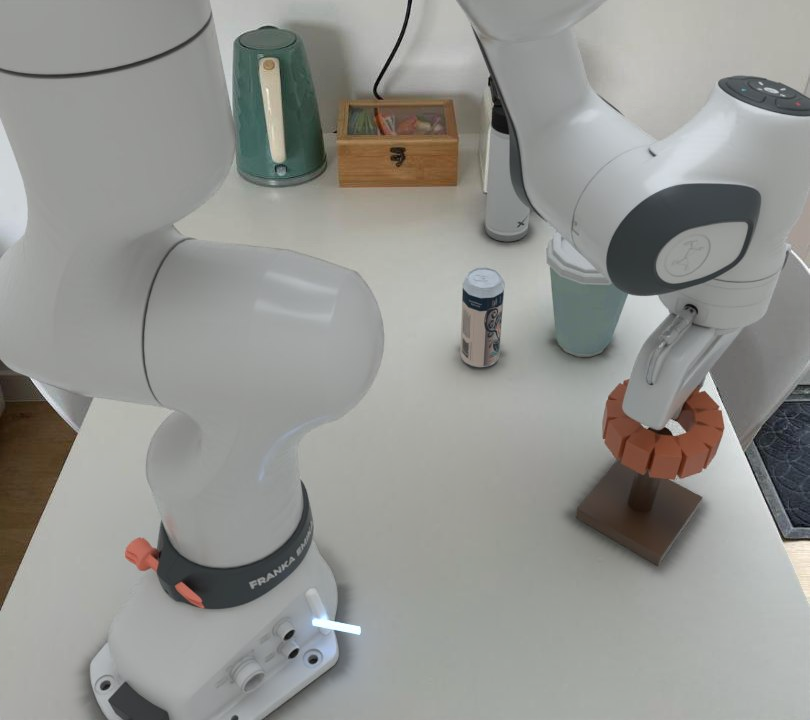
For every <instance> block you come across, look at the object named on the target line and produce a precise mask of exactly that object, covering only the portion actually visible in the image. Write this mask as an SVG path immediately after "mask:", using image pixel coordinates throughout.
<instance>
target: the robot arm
mask: <svg viewBox="0 0 810 720" xmlns="http://www.w3.org/2000/svg"><path fill="white" fill-rule="evenodd" d="M455 1H456V2H457V4H458V6H459V7H460V9H461V10H462V12H463V13H464V15H465V17H466V18H467V21H469V23H470V27H471V29H472V32H473V35H474V37H475V40H476V42H477V45H478V48H479V50H480V52H481V55H482V57H483V60H484V63H485V65H486V68H487V70H488V73H489V75H490V78H491V81H492V83H493V85H494V88H495V90H496V93H497V96H498V99H500V101H501V103H502V106H503V109H504V111H505V115H506V118H507V122H508V128H509V144H510V148H509V166H510V177H511V182H512V185H513V188H514V191H515V193H516V195H517V196H518V198H519V199H520V200H521V202H522V203H523V204H524V205H526V206H527V207H528V208H529V209H530V211H532V212H533V213H534V214H535V215H537V216H538V217H539V218H541V219H542V220H544V221H545V222H546V223H547V224H549V225H550V226H551V227H552V228H553V229H554V230H555V232H556V231H557V232H558V233H559V234H560V235H561V236H562V237H563V238H564V239H565V240H566V241H567V242H568V243H569V244H570V245H571V246H572V247H573V248H574V249H576V250H577V251H578V252H579V253H580V254H581V255H582V256H583V257H584V258H585V259H586V260H587V261H588V262H589V263H590V264H591V265H592V266H593V267H594V268H595V269H597V270H598V271H599V272H600V273H601V274H602V275H603V276H604V277H605V278H606V279H607V280H608V281H610V282H611V283H612V284H614V285H615V286H616V287H617V288H618V289H619V290H621V291H622V292H625V293H627V294H628V295H630V296H635V297H653V296H658V299H659V301H660V302H661V303H662V305H663V306H664V307H665V308H666V309H667V310H668V313H669V314H668V315H667V316H666V317H665V318H664V320H662V322H661V323H660V324H659V325H658V326H657V327H656V328H655V329H654V330H653V332H652V333H651V334H650V335H649V336H648V337H647V339H646V340H645V341H644V342H643V344H642V345H641V348H640V350H639V352H638V354H637V356H636V358H635V360H634V364H633V367H632V370H631V373H630V376H629V378H628V379H629V383H628V386H627V389H626V393H625V396H624V400H623V405H622V409H623V411H624V413H625V414H626V415H627V416H629V417H630V418H632V419H633V420H635V421H637V422H639V423H641V425H642V426H645V427H647V428H649V427H650V428H652V429H655V430H661V429H663V428H664V427H666V426H667V425H668V423H669V422H670V421H671V420H672V419H674V420H675V419H677V418H678V417H679V416H680V414H681V413H682V412H683V410H684V408H685V405H686V402H687V398H688V397H689V396H690V394H691V393H692V392H693V391H694V389H695V388H696V387H697V386H698V387H700V390H701V389H703V387H704V384H705V380H706V378H707V375H708V374H709V372H710V371H711V369H712V368H713V367H714V366H715V365H716V363H717V362H718V361H719V359H720V358H721V357H722V356H723V354H725V352H726V351H727V350H728V348H729V347H730V346H731V345H732V343H733V342H734V341H735V340H736V338H737V337H738V336H739V335H740V334H741V332H742V331H743V329H744V328H745V327H748V326H750V325H753V324H755V323H757V322H758V321H760V320H761V319H762V318H763V317H764V316H765V315H766V313H767V311H768V309H769V306H770V302H771V301H772V297H773V295H774V292H775V289H776V286H777V284H778V281H779V278H780V275H781V272H782V271H783V269H785V266H786V264H787V263H788V260H789V258H790V255H791V252H792V250H793V249H792V247H793V245H792V244H790V243H788V242H787V239H788V236H789V234H790V232H791V230H792V229H793V227H794V226H795V225H796V224H797V222H798V221H799V219H800V217H801V215H802V213H803V210H804V207H805V204H806V202H807V199H808V197H809V192H810V97H809V96H807V95H805V94H804V93H802V92H800V91H798V90H797V89H795V88H792V87H791V86H789V85H787V84H784V83H782V82H780V81H778V82H777V81H775V80H770V79H767V78H766V77H761V76H754V75H732V76H727V77H723V78H721V79H719V80H717V81H716V82H715V83H714V85H713V87H712V89H711V90H710V92H709V94H708V97H707V98H706V100H705V103H704V105H703V106H702V107H701V109H699V110H698V112H696V114H694V116H693V117H692V118H691V119H690V120H688V121H687V122H685V124H684V125H682V126H681V127H680V128H678V129H677V130H676V131H673V132H672V133H671V134H670V135H668V136H666V137H665V138H663V139H660V140H658V139H656V138H655V137H654V136H653V135H651V134H650V133H648V132H647V131H645V130H643V129H642V128H641V127H640V126H638V125H637V124H636V123H634V122H632V120H630V119H628V118H627V117H626V116H625V115H624V114H623V113H622V112H621V111H620V110H619V109H618V108H616V107H615V106H614V105H613V104H611V103H610V102H609V101H608V100H606V99H605V98H604V97H603V96H601V95H600V94H599V93H597V92H596V91H595V90H594V88H593V87H592V85H591V84H590V82H589V80H588V76H587V73H586V69H585V65H584V61H583V58H582V53H581V50H580V46H579V42H578V38H577V34H576V31H575V27H574V26H575V25H577V24H578V23H580V22H582V21H583V20H585V19H586V18H588V17H589V16H590V15H592V13H593V14H594V12H595V11H597V10H598V9H599V8H600V7H601V6H603V5H604V4H605V3H606V2H607V1H608V0H455ZM224 70H225V69H224V65H223V61H222V55H221V50H220V45H219V40H218V35H217V30H216V25H215V21H214V15H213V9H212V4H211V0H0V122H1V124H2V126H3V129H4V131H5V135H6V137H7V140H8V142H9V146H10V148H11V150H12V153H13V156H14V159H15V161H16V164H17V166H18V170H19V173H20V176H21V179H22V182H23V187H24V192H25V196H26V206H27V219H26V220H27V221H26V227H25V231H24V232H23V234H22V236H21V237H20V238H19V239H18V240H16V241H15V242H14V243H13V244H12V245H11V246H10V247H9V248H8V249H7V250H6V251H5V252H4V253H3V255H2V256H1V257H0V361H1V362H2V363H3V364H4V365H5V366H6V367H7V368H8V369H10V370H11V371H13V372H15V373H17V374H20V375H22V376H25V377H28V378H31V379H33V380H35V381H38V382H40V383H43V384H45V385H47V386H51V387H53V388H56V389H59V390H62V391H65V392H68V393H70V394H73V395H77V396H80V397H81V396H82V397H87V398H88V397H89V398H95V399H102V400H109V401H114V402H121V403H130V404H136V405H144V406H149V407H150V406H151V407H158V408H163V409H168V410H171V411H172V412H171V413H170V414H169V415H168V416H167V417H166V418H165V419H164V420H162V422H161V424H159V426H158V427H157V428H156V430H155V432H154V433H153V435H152V436H151V439H150V442H149V445H148V448H147V452H146V457H145V469H144V470H145V471H144V472H145V477H146V481H147V484H148V486H149V489H150V492H151V495H152V496H153V497H152V498H153V500H154V503H155V505H156V509H157V511H158V514H159V516H160V523H159V524H160V525H159V532H158V536H157V543H156V544H157V545H156V547H153V546H152V545H151V544H150V542H149V541H148V540H147V539H146V538H145V537H137V538H135V539H133V540H132V541H130V543H129V544H128V545H127V546H126V547H125V551H124V558H125V559H126V560H127V561H128V562H130V563H131V564H133V565H135V566H136V569H137V570H139V571H141V572H143V574H142V575H141V577H140V578H139V579H138V581H137V583H136V584H135V586H134V587H133V589H132V590H131V592H130V593H129V595H128V597H127V598H126V600H125V601H124V603H123V604H122V606H121V607H120V608H119V610H118V611H117V613H116V614H115V616H114V618H113V619H112V621H111V623H110V625H109V628H108V629H109V630H108V638H107V642H106V643H105V644H104V645H103V646H102V647H101V649H100V650H98V652H97V653H96V655H95V656H94V657H93V658H92V660H91V662H90V665H89V677H90V685H91V688H92V691H93V695H94V696H95V701H96V702H97V704H98V706H99V708H100V710H101V712H102V714H103V715H104V716H105V718H106V720H263V719H265V718H266V717H267V716H268V715H271V713H273V712H274V711H276V710H277V709H278V708H279V707H281V706H282V705H283V704H285V703H286V702H287V701H289V700H290V699H292V698H293V697H294V696H295V695H297V694H298V693H299V692H300V691H302V690H303V689H305V688H306V687H307V686H308V685H310V684H311V683H313V682H314V681H315V680H317V679H318V678H319V677H321V676H322V675H323V674H325V673H326V672H327V671H328V670H330V669H331V668H333V667H334V666H335V665H336V664H337V662H338V660H339V657H340V648H339V643H338V639H337V635H336V631H340V632H345V633H350V634H355V635H361V626H358V625H353V624H348V623H342V622H339V621H336V615H337V610H338V605H339V604H338V603H339V591H338V585H337V582H336V578H335V575H334V573H333V571H332V569H331V567H330V565H329V564H328V563H327V561H326V560H325V559H324V558H323V555H321V553H320V551H319V549H318V547H317V545H316V542H315V540H314V527H315V526H314V519H313V518H314V517H313V512H312V508H311V507H312V506H311V503H310V500H309V494H308V490H307V488H306V486H305V483H304V482H303V480H302V479H301V473H300V464H299V445H300V442H301V441H302V440H303V439H304V437H306V436H307V435H308V434H310V433H311V432H312V431H314V430H315V429H318V428H320V427H322V426H323V425H327V424H330V423H333V422H335V421H338V420H340V419H342V418H344V417H345V416H346V415H347V414H349V413H350V412H351V411H352V410H354V409H355V408H356V407H357V405H359V404H360V403H361V401H362V400H364V398H365V397H366V395H367V394H368V392H369V391H370V389H371V388H372V386H373V384H374V382H375V380H376V378H377V376H378V374H379V372H380V371H379V370H380V369H381V365H382V361H383V357H384V351H385V326H384V321H383V316H382V311H381V309H380V306H379V303H378V300H377V299H376V297H375V295H374V292H373V291H372V289H371V287H370V286H369V284H368V283H367V281H366V280H365V278H363V276H362V275H361V274H360V273H359V272H358V271H356V270H354V269H351V268H348V267H345V266H343V265H339V264H336V263H334V262H331V261H328V260H325V259H322V258H319V257H316V256H312V255H308V254H305V253H302V252H299V251H296V250H293V249H287V248H278V247H270V246H269V247H268V246H260V245H251V244H240V243H232V242H224V241H214V240H204V239H198V238H195V237H189V236H187V235H184V234H182V233H181V232H180V231H179V230H178V228H177V227H176V226H175V225H174V224H176V223H178V222H181V221H182V220H184V219H185V218H187V217H188V216H189V215H191V214H193V213H194V212H196V211H197V210H198V209H200V208H201V207H202V206H203V205H205V204H206V203H207V202H209V200H211V198H213V197H214V196H215V195H216V193H217V192H218V191H219V190H220V189H221V187H222V186H223V184H225V181H226V179H227V178H228V176H229V174H230V171H231V169H232V166H233V162H234V159H235V155H236V154H235V153H236V147H237V130H236V126H235V119H234V115H233V109H232V106H231V100H230V96H229V95H230V94H229V91H228V86H227V79H226V77H225V71H224ZM674 420H673V421H674ZM311 660H317V661H316V662H315V663H310V661H311ZM108 685H109V687H108V688H107V689H104V688H105V687H106V686H108Z"/></svg>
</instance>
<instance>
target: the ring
mask: <svg viewBox="0 0 810 720" xmlns="http://www.w3.org/2000/svg"><path fill="white" fill-rule="evenodd" d="M629 379H630V378H628V379H624V380H623V382H622V383H621V382H619V383H618V384H617V385H616V386H615V388H614V389H613V390H611V392H610V393H609V394H608V396H607V399H606V401H605V406H604V410H603V417H602V421H601V426H602V430H601V431H602V440H604V441H603V443H604V445H605V446H606V448H607V449H608V450H609V452H610V453H611V454H612V456H613V457H614V459H615V460H616V461H617V460H619V459H622V462H621V464H623V465H625V466H627V467H629V468H631V469H633V470H634V471H636V472H638V473H640V474H642V475H644V474H645V473H646V471H647V470H649V477H653V478H662V479H669V480H671V481H673V480H674V481H675V480H676V478H677V477H678V479H679V480H682V479H685V478H689V477H692V476H694V475H698V474H700V473H702V472H703V470H706V469H707V468H708V467H709V465H710V464H711V462H712V461H713V459H714V458H715V456H716V455H717V452H718V450H719V447H720V444H721V442H722V439H723V436H724V431H725V427H726V426H725V423H724V422H725V421H724V417H723V411H722V410H721V409H720V405H719V404H718V403H717V402H716V401H715V399H714V398H712V396H710V394H709V393H708V392H707V391H706V390H703V391H700V390H701V389H700V387H698V386H697V387H696V388H695V389H694V391H693V392H692V393H691V394H690V396H689V397H688V398H687V402H686V405H685V408H684V410H683V412H682V413H681V414H680V416H679V417H678V418H677V419H675V420H674V419H671V420H672V421H674V422H676V423H678V424H679V425H680V426H681V428H682V429H683V430H684V431H685V432H683V433H680V434H677V435H673V436H669V435H659V434H656V433H654V432H652V431H650V430H648V428H646V427H644V425H643V424H641V423H639V422H637V421H635V420H633V419H632V418H630V417H629V416H627V415H626V414H625V413H624V411H623V409H622V405H623V400H624V396H625V393H626V389H627V386H628V383H629Z"/></svg>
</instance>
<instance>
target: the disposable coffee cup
mask: <svg viewBox="0 0 810 720" xmlns="http://www.w3.org/2000/svg"><path fill="white" fill-rule="evenodd" d="M545 255H546V256H545V257H546V264H547V265H548V266H549V275H550V285H551V298H552V310H553V311H552V312H553V321H554V332H555V333H554V334H555V335H554V336H555V340H556V342H557V345H558V346H559V347H560V348H561V349H562V350H563V351H564V352H565V353H567V354H570V355H572V356H575V357H580V358H581V357H582V358H583V357H584V358H591V357H594V356H598V355H600V354H602V353H603V352H604V350H606V348H607V347H608V346H609V344H610V343H611V341H612V339H613V336H614V333H615V331H616V328H617V326H618V322H619V320H620V318H621V314H622V311H623V309H624V307H625V304H626V301H627V299H628V295H629V294H627V293H625V292H622V291H621V290H619V289H618V288H617V287H616V286H615V285H614V284H612V283H611V282H610V281H608V280H607V279H606V278H605V277H604V276H603V275H602V274H601V273H600V272H599V271H598V270H597V269H595V268H594V267H593V266H592V265H591V264H590V263H589V262H588V261H587V260H586V259H585V258H584V257H583V256H582V255H581V254H580V253H579V252H578V251H577V250H576V249H574V248H573V247H572V246H571V245H570V244H569V243H568V242H567V241H566V240H565V239H564V238H563V237H562V236H561V235H560V234H559V233H558V232H557V231H556V230H555V232H554V233H553V234H552V238H551V239H550V240H549V241H548V242H547V246H546V249H545Z"/></svg>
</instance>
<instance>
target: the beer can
mask: <svg viewBox="0 0 810 720" xmlns="http://www.w3.org/2000/svg"><path fill="white" fill-rule="evenodd" d="M505 287H506V283H505V280H504V279H503V277H502V275H501V274H500V273H499V271H498V270H497V269H493V268H490V267H485V266H484V267H475V268H474V269H472V270H470V271H468V273H467V275H466V276H465V277H464V279H463V281H462V296H461V324H460V326H461V327H460V331H461V332H460V350H459V351H460V352H459V353H460V354H459V355H460V358H461V360H462V361H463V362H464V363H465V364H467V365H469V366H471V367H475V368H485V367H490V366H493V365H494V364H495V363H496V362H498V360H499V359H500V350H501V349H500V348H501V346H500V345H501V335H502V322H503V310H504V309H503V308H504V294H505Z"/></svg>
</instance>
